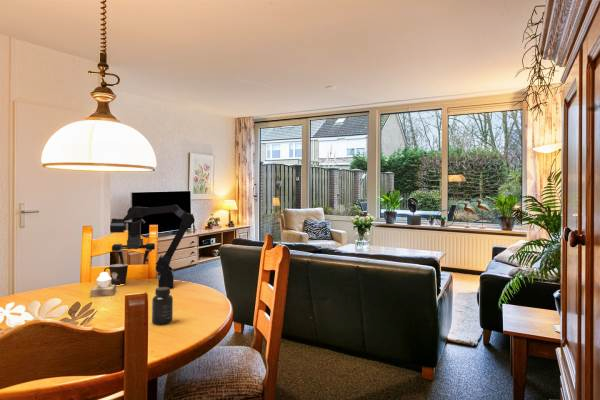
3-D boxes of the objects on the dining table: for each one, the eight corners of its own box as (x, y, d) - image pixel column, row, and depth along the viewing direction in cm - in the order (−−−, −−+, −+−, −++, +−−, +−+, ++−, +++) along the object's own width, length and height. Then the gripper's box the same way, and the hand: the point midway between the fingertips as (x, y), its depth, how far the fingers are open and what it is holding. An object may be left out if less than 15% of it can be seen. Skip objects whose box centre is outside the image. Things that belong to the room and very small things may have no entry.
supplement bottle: (147, 323, 126) (148, 288, 126) (164, 318, 132) (165, 285, 132) (159, 327, 122) (160, 291, 122) (176, 321, 128) (177, 287, 128)
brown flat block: (115, 291, 171) (116, 284, 171) (113, 295, 162) (113, 288, 162) (94, 292, 168) (94, 285, 168) (90, 297, 159) (90, 289, 159)
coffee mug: (131, 284, 185) (131, 265, 186) (115, 287, 178) (115, 267, 178) (118, 281, 192) (118, 262, 192) (102, 284, 184) (102, 265, 184)
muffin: (94, 287, 165) (94, 271, 165) (108, 284, 170) (108, 269, 170) (99, 289, 161) (99, 273, 161) (113, 286, 165) (114, 271, 166)
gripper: (110, 234, 164) (109, 268, 164) (154, 233, 171) (153, 266, 171) (113, 232, 175) (113, 264, 175) (155, 231, 181) (154, 262, 181)
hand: (133, 264), depth 175 cm, fingers open, 9 cm apart
